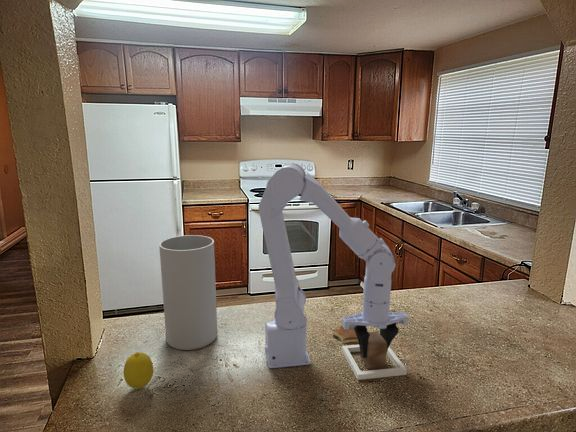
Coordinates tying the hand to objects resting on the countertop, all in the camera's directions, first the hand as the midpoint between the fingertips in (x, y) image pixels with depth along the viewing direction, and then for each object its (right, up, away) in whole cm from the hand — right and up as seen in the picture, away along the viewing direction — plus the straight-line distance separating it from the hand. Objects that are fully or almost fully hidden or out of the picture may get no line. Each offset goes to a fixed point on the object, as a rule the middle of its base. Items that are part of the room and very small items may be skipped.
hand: (372, 354), depth 86 cm
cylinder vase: (-43, 0, +10) cm, 44 cm away
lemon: (-49, -4, -9) cm, 50 cm away
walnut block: (0, -2, 0) cm, 2 cm away
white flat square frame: (0, -2, 0) cm, 2 cm away
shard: (-2, 0, +12) cm, 12 cm away
